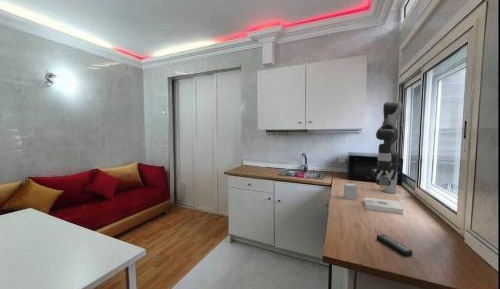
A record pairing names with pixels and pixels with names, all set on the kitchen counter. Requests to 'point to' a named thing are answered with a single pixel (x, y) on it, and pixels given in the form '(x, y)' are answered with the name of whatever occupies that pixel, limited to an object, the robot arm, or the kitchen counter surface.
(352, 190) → the small box
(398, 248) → the multiport hub
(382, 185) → the plug
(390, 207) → the socket plate
